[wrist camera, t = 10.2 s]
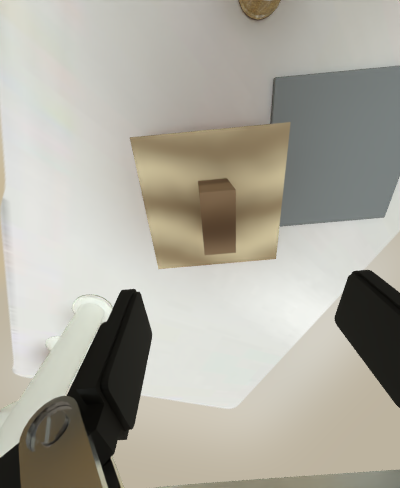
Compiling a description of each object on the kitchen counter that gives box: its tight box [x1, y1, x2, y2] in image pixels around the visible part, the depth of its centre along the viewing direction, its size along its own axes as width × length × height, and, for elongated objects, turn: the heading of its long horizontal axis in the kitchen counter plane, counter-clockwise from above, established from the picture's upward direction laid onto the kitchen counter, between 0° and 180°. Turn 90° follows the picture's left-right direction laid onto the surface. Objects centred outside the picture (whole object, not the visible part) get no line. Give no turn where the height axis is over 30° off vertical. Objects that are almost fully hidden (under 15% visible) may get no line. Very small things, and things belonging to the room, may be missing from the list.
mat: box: [271, 66, 400, 226], centre depth 27 cm, size 18×18×1 cm
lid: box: [130, 122, 291, 269], centre depth 21 cm, size 15×15×6 cm
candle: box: [0, 295, 112, 457], centre depth 27 cm, size 7×7×25 cm
